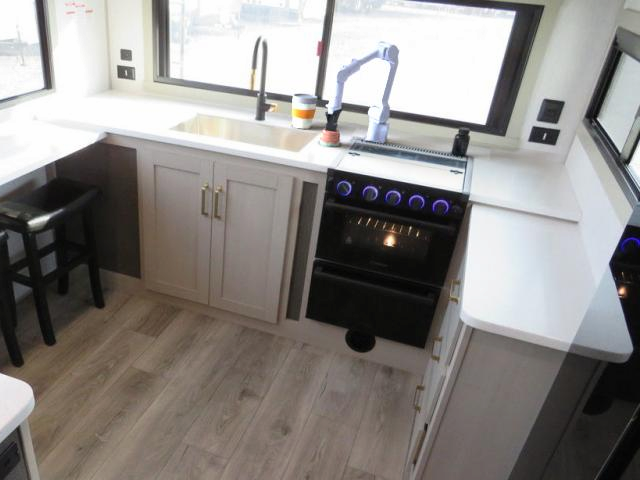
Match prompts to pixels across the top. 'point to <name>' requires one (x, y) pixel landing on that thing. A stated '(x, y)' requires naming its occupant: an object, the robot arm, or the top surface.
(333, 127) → the binder clip
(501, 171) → the top surface
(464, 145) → the supplement bottle
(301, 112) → the reusable coffee cup
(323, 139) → the cup stack
